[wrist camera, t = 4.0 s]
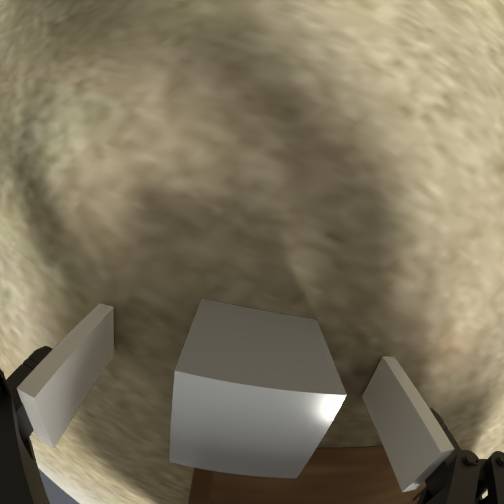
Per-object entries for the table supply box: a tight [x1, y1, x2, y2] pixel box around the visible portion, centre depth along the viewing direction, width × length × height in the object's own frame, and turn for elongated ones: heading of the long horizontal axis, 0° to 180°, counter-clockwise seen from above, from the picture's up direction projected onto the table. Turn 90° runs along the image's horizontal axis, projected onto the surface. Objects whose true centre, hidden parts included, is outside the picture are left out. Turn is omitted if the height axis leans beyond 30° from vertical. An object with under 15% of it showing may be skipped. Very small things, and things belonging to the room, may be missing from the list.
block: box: [169, 298, 347, 478], centre depth 11 cm, size 5×5×5 cm
